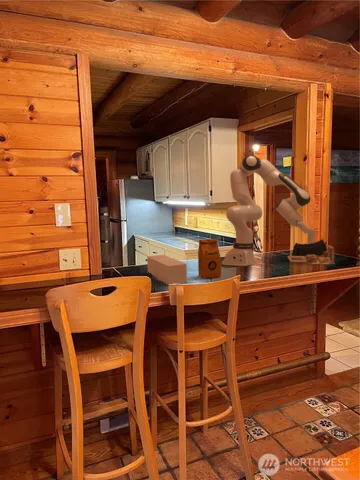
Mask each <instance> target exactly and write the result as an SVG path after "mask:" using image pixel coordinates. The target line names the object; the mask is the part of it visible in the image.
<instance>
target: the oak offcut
mask: <svg viewBox="0 0 360 480" xmlns="http://www.w3.org/2000/svg"><path fill="white" fill-rule="evenodd" d="M306 257H307V258H309V259H313V258H317V259H318V255H307V256H306Z"/></svg>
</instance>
